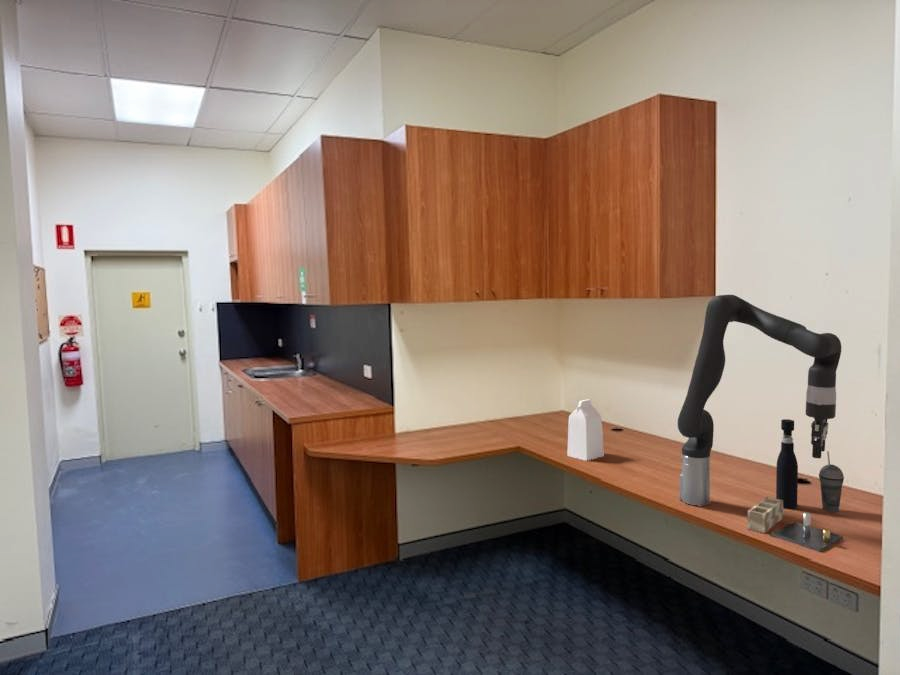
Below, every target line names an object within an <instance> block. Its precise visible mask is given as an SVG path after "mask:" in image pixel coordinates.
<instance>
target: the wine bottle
mask: <svg viewBox="0 0 900 675" xmlns="http://www.w3.org/2000/svg"><path fill="white" fill-rule="evenodd" d="M780 422H781V423H780V427H781V430H782V431H783V433H782V435H783V436H782V437H781V439H782V440H781V442H780V444H781V445H780V452H779V454H778V456H777V460H776V476H775V477H776V480H775V481H776V485H775V486H776V489H775V490H776V491H775V493H776V494H775V499H779V500H783V509H789V510H792V509H797V508H798V493H799V492H798V489H799V488H798V482H799V481H798V479H799V478H798V477H799V476H798V475H799V470H798V469H799V464H798V460H797V457H796V454H795V451H794V449H795V444H794V438H793V437H792V436H793V432H794V431H795V420H794V419H781V420H780Z"/></svg>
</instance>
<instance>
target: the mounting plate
mask: <svg viewBox="0 0 900 675" xmlns="http://www.w3.org/2000/svg"><path fill="white" fill-rule="evenodd" d="M811 514H812V513H810V512H806V511H804V512H802V523H800V522H796V521H794V522H791V523H788V524H786V525H785V526H782V527H780V528H778V529H776V530H774V531H772V532H770V536H771V535H772V536H771V537H773V536H775V537H774V538H776V537H778V538H777V539H779V538H781V539H780V540H782V539H783V541H785V540H787V541H786V542H788V541H789V543H791V542H792V543H791V544H794V543H795V544H794V545H797V544H798V546H801V547H804V548H807V549H810V550H813V551H816V552H820V553H821V552H822V551H824V550H827V549H828V548H830V547H831V546H833V545H835V544H837V543H839V542H841V541H843V540H844V536H843V535H840V534H837V533H834V532H831V530H829V529H820V528H816V527H812V526H811V525H812V519H811V518H812V515H811Z"/></svg>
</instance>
